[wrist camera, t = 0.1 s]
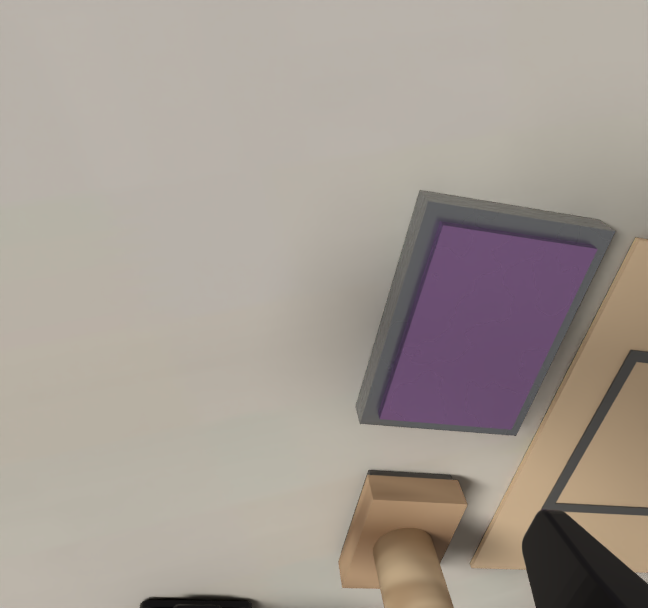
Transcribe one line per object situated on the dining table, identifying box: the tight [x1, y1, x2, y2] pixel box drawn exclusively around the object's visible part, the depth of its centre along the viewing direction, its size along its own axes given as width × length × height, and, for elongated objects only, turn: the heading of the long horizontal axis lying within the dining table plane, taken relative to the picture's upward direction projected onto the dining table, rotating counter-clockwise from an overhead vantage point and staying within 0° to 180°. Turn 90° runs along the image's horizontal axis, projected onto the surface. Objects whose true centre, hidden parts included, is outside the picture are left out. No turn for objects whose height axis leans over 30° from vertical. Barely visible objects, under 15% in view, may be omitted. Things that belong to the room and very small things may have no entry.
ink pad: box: [356, 190, 615, 436], centre depth 25 cm, size 11×8×2 cm
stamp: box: [339, 470, 468, 608], centre depth 29 cm, size 7×5×8 cm
